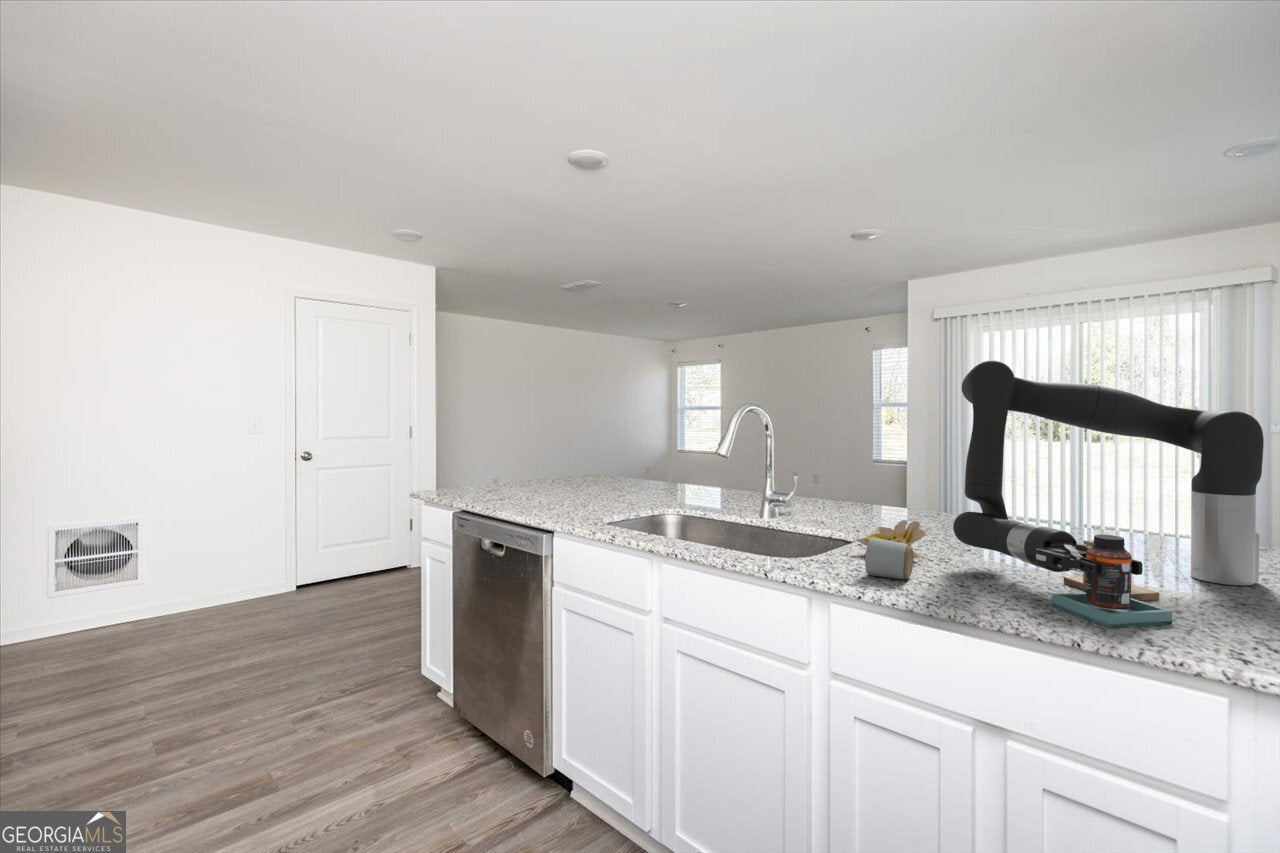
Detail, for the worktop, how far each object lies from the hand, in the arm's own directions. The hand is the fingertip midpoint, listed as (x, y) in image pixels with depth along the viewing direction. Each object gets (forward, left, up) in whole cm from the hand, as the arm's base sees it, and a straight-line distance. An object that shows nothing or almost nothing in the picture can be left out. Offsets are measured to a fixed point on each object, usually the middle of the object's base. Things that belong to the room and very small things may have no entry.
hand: (1122, 569), depth 99 cm
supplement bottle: (0, -3, -7) cm, 7 cm away
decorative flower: (+13, -47, -8) cm, 50 cm away
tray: (0, -2, -8) cm, 8 cm away
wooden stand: (-12, -14, -8) cm, 20 cm away
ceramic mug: (+22, -32, -8) cm, 39 cm away
